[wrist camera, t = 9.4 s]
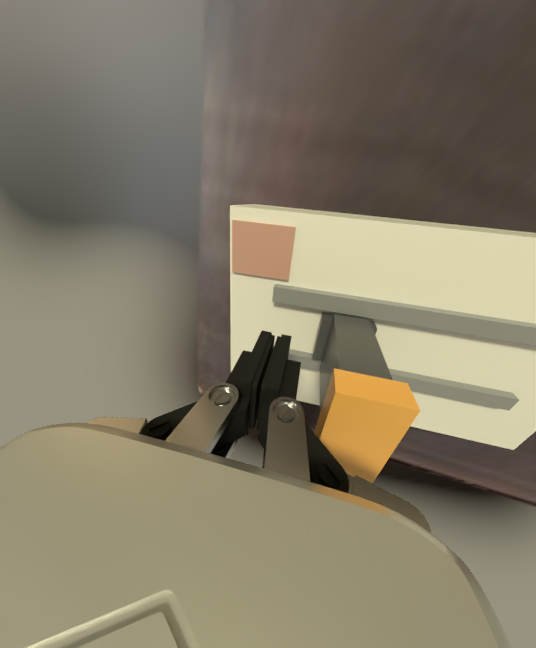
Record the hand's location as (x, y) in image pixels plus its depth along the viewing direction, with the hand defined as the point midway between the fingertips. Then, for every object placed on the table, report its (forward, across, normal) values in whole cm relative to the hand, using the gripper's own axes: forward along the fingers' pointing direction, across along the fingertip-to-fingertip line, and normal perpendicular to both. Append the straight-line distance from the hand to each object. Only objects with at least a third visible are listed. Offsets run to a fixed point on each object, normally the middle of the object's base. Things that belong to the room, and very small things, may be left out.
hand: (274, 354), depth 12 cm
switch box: (+8, -7, 0) cm, 11 cm away
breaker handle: (+3, -4, 0) cm, 5 cm away
